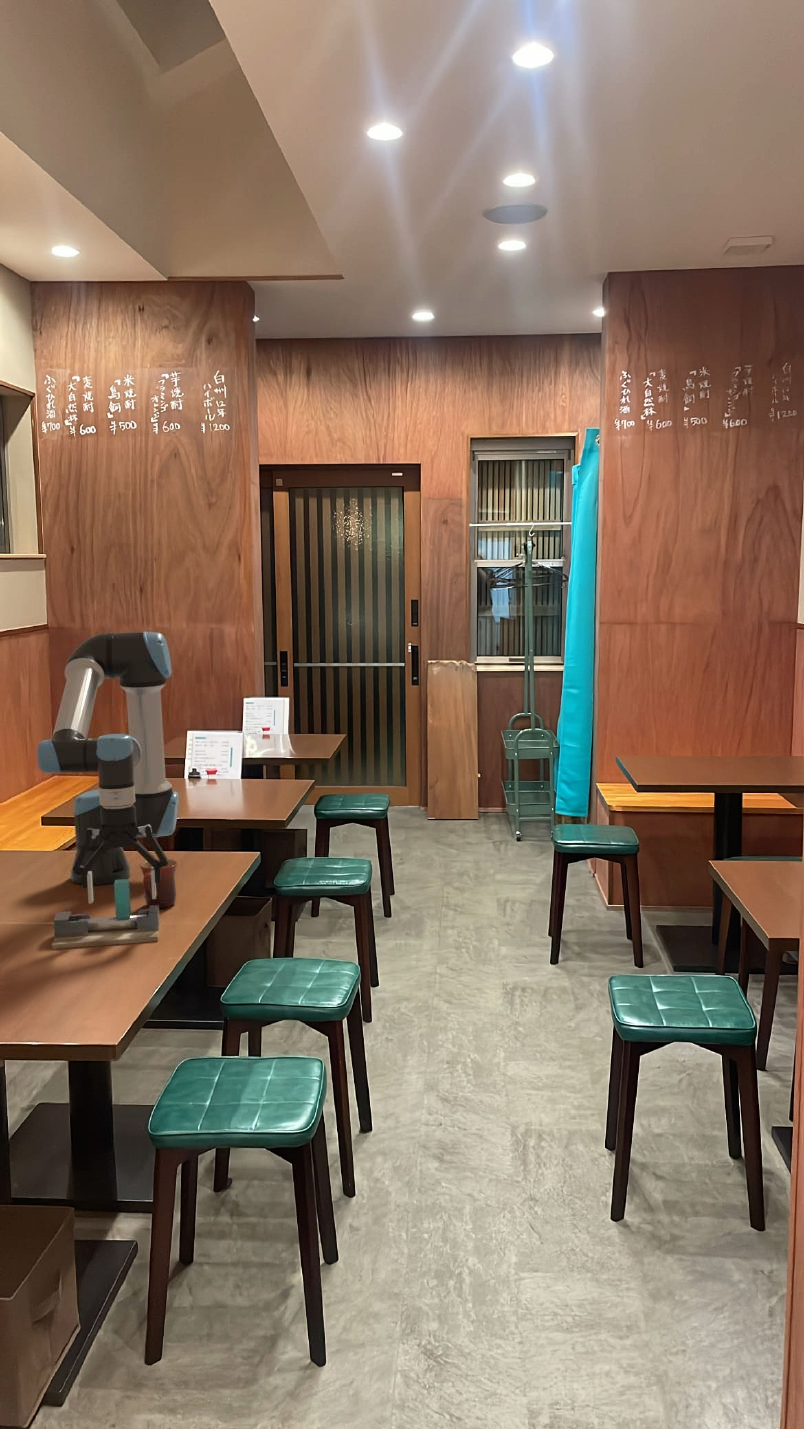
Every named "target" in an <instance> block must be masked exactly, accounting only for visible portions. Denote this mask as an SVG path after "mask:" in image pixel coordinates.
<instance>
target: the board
mask: <svg viewBox="0 0 804 1429" xmlns="http://www.w3.org/2000/svg"><path fill="white" fill-rule="evenodd" d="M159 921H160V923H159V930H158V931H150V932H137V928H129V929H116V930H102V931H89V932H88V934H89V935H88V936H79V937H66V938H55V937H54V939H53V941H52V944H51V948H52V950H59V949H73V948H83V947H85V948H86V947H97V946H111V945H123V944H126V945H127V944H139V943H151V942H153V943H154V942H159V936H160V927H161V916H159Z"/></svg>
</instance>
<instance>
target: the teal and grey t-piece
mask: <svg viewBox="0 0 804 1429" xmlns="http://www.w3.org/2000/svg"><path fill="white" fill-rule="evenodd" d="M113 885H114V886H113V887H114V889H113V890H114V904H115V905H114V906H115V907H114V908H115V916H108V917H107V916H106V917H105V916H104V917H93V918H92V917H90V919H79V921H84V920H88V932H89V931H102V930H116V929H129V928H137V917H140V916H148V914H146V915H138V914H133V915H132V911H131V910H132V907H131V890H130V887H131V886H130V879H129V878H126V879H122V880H115V882H114V883H113Z"/></svg>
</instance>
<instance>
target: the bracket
mask: <svg viewBox="0 0 804 1429" xmlns="http://www.w3.org/2000/svg"><path fill="white" fill-rule="evenodd" d="M90 918H91V913H81V914H80V913H79V914H78V913H77V914H72V911H59V912H56V914H55V917H54V918H53V932H54V933H53V934H54V935H53V936H54V939H55V938H66V937H79V936H88V935H89V934H88V920H84V921H79V919H90Z"/></svg>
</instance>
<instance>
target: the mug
mask: <svg viewBox="0 0 804 1429" xmlns="http://www.w3.org/2000/svg"><path fill="white" fill-rule="evenodd" d="M156 859H157V860H158V861H160V860H159V858H156ZM167 859H168V865H167V866H163V867H161V868H160V875H161V880H160V883H156V899H152V883H151V867H153V866H152V865H151V864H150V863H149V862H148V861H147V860H145V861H143V862H141V864H140V870H141V872H142V875H143V881H142V882H143V892H144V896H143V897H144V900H145V905H146V906H147V907H149V906H151V905H159V910H160V909H166V908H170V907H172V906H173V905H175V903H176V900H177V886H176V885H177V883H176V871H177V868H178V863H179V862H178V861H177V860H175V859H169V858H167Z"/></svg>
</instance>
